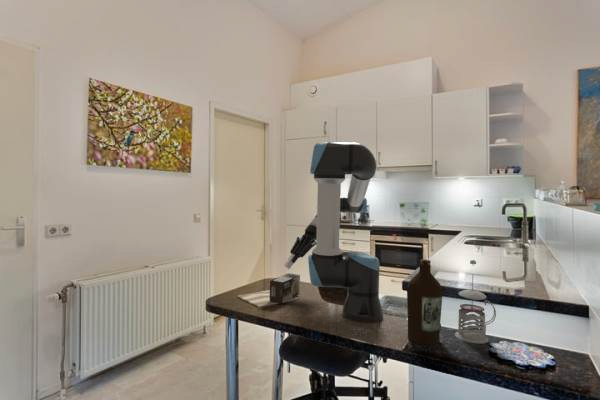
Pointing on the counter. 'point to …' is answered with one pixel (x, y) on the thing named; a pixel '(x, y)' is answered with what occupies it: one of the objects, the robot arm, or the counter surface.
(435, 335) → the olive oil
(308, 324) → the counter surface
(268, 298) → the board
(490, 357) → the counter surface
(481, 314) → the french press
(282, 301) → the coffee box
